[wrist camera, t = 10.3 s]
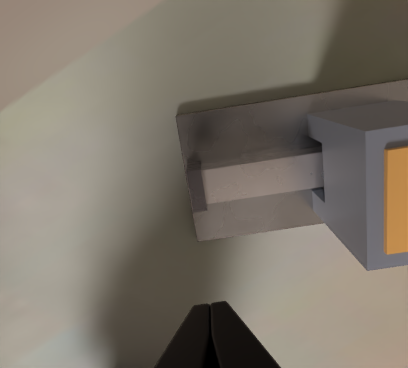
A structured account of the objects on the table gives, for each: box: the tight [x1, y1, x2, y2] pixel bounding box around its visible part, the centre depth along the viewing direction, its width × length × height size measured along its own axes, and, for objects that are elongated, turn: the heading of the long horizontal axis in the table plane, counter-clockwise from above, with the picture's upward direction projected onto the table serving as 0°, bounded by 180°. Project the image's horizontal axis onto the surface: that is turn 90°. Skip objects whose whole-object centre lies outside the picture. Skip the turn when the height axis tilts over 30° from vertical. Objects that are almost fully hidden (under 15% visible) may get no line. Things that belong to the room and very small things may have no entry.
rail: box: [176, 79, 408, 242], centre depth 19 cm, size 8×20×3 cm, turn 99°
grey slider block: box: [307, 100, 408, 271], centre depth 17 cm, size 6×5×7 cm
